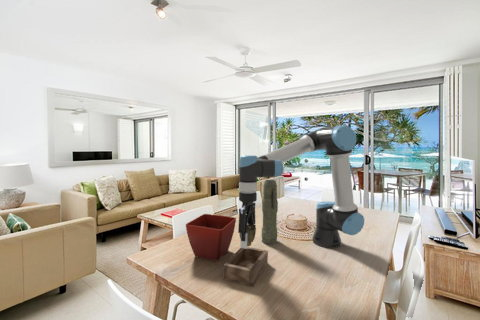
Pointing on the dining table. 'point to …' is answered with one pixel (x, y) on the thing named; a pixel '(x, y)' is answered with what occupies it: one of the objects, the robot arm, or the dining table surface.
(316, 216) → the robot arm
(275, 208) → the thermos
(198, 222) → the plant pot
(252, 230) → the olive textured bell shape
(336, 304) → the dining table surface
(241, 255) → the walnut box
